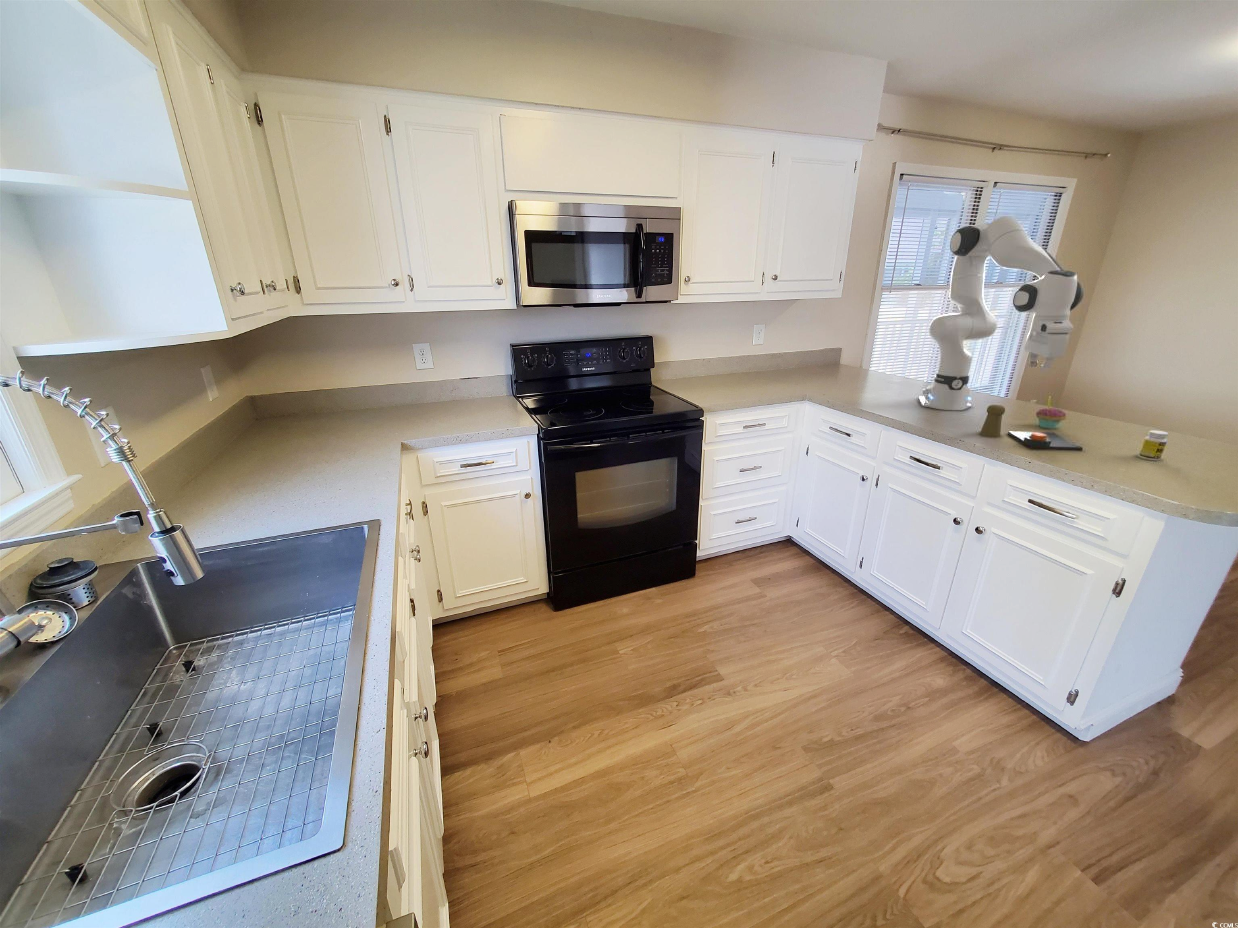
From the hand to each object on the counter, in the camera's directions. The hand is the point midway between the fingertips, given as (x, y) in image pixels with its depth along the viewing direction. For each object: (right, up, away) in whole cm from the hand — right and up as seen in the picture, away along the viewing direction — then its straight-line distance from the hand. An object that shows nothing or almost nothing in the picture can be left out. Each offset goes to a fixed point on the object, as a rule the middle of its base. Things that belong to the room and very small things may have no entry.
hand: (1038, 368), depth 161 cm
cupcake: (+22, -18, +22) cm, 36 cm away
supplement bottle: (+26, -30, -9) cm, 41 cm away
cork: (-4, -21, +16) cm, 27 cm away
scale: (+8, -24, +7) cm, 26 cm away
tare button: (+2, -23, +3) cm, 23 cm away
